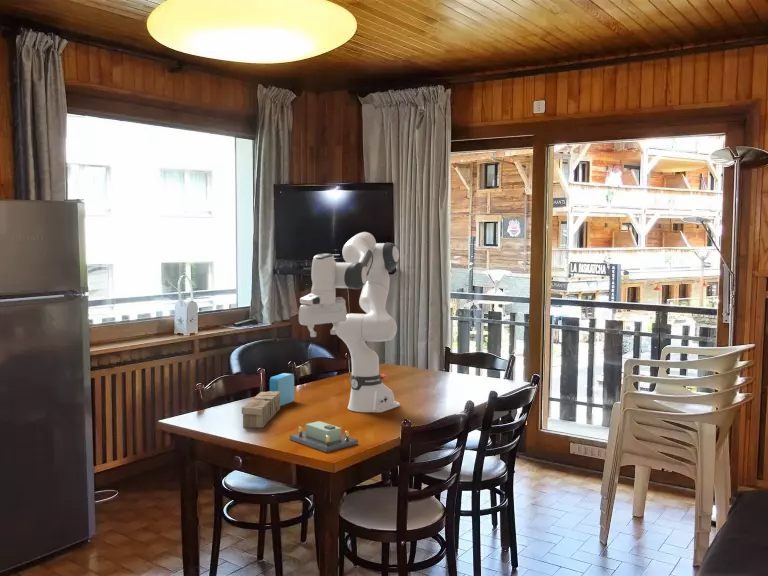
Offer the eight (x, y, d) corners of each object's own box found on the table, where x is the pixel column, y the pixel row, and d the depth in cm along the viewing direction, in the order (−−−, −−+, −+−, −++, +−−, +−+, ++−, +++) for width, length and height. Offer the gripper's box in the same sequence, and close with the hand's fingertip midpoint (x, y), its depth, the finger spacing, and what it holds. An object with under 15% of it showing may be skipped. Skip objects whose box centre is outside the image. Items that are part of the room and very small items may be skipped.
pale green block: (319, 432, 252) (319, 419, 252) (341, 439, 243) (341, 426, 243) (305, 435, 248) (305, 422, 248) (327, 442, 239) (327, 429, 239)
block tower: (261, 411, 291) (240, 428, 262) (261, 391, 291) (240, 405, 262) (280, 412, 290) (261, 429, 261) (280, 391, 290) (261, 406, 261)
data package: (285, 399, 307) (285, 372, 306) (294, 401, 305) (294, 373, 304) (269, 405, 296) (269, 377, 295) (278, 407, 294) (278, 378, 293)
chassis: (321, 432, 258) (321, 419, 257) (357, 444, 243) (358, 431, 243) (289, 439, 248) (289, 426, 248) (325, 452, 234) (326, 439, 233)
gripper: (339, 296, 270) (339, 332, 271) (296, 299, 256) (296, 337, 257) (350, 297, 266) (350, 333, 267) (306, 300, 252) (306, 339, 253)
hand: (323, 335), depth 262 cm, fingers open, 8 cm apart
